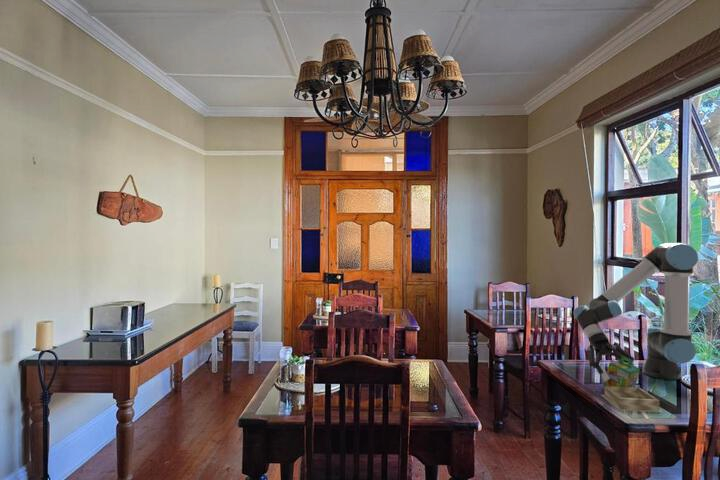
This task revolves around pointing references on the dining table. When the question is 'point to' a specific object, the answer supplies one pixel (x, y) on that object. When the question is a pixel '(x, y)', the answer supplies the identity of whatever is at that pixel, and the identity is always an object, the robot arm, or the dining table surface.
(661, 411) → the mat
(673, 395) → the dining table surface
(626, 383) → the chalk box
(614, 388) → the tray
